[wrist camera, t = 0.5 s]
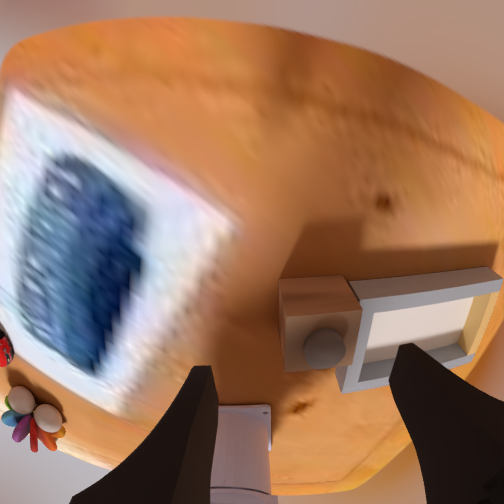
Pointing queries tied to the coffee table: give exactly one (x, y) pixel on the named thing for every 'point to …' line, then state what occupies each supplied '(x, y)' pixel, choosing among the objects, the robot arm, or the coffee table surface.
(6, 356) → the race car
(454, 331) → the tray
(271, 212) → the coffee table surface
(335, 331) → the block with grey knob
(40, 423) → the rainbow flower
